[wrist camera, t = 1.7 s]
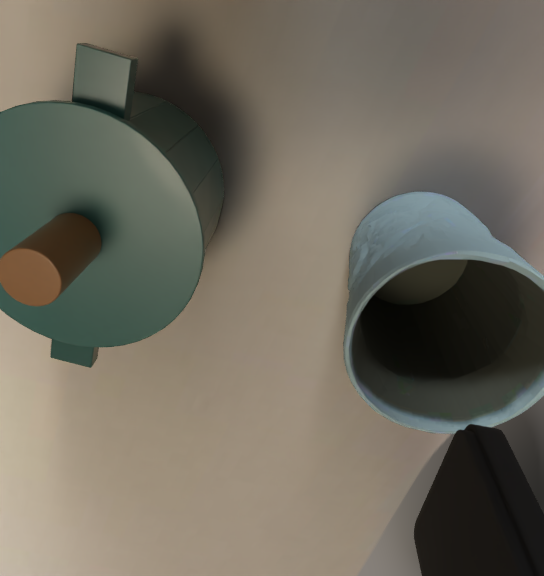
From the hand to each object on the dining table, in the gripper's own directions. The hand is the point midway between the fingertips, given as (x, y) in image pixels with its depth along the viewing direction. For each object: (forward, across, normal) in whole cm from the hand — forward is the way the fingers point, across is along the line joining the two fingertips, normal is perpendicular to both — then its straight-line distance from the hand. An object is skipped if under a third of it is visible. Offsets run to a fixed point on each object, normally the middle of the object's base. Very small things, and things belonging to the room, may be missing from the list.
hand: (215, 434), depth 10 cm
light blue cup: (+25, -10, +4) cm, 27 cm away
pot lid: (+15, +9, +3) cm, 18 cm away
